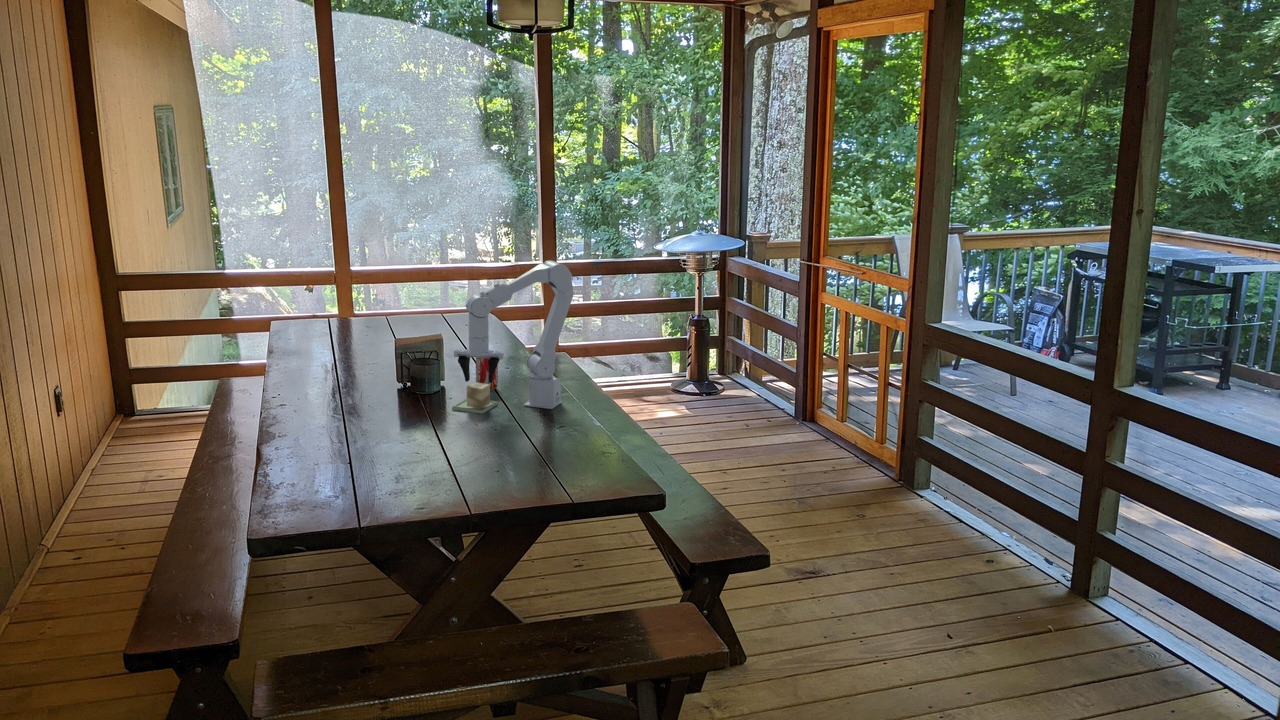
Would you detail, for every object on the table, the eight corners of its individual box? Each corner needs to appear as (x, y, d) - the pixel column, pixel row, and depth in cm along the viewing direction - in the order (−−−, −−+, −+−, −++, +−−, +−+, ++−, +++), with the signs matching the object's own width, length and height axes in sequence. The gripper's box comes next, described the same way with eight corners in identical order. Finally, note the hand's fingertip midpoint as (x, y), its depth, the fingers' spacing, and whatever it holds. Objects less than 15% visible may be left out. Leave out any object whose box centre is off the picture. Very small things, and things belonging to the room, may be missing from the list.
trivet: (497, 404, 284) (497, 401, 284) (482, 413, 275) (482, 410, 274) (467, 401, 287) (467, 397, 287) (452, 409, 277) (452, 406, 277)
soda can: (493, 392, 298) (493, 356, 295) (472, 390, 299) (472, 354, 296) (501, 387, 304) (500, 351, 301) (480, 385, 306) (480, 349, 303)
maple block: (489, 403, 279) (489, 384, 277) (482, 408, 274) (481, 388, 273) (474, 401, 280) (474, 382, 279) (466, 406, 276) (466, 386, 274)
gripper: (506, 335, 276) (506, 379, 279) (458, 332, 277) (459, 376, 280) (500, 340, 269) (500, 385, 272) (451, 337, 270) (452, 382, 274)
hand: (479, 381), depth 276 cm, fingers open, 6 cm apart
